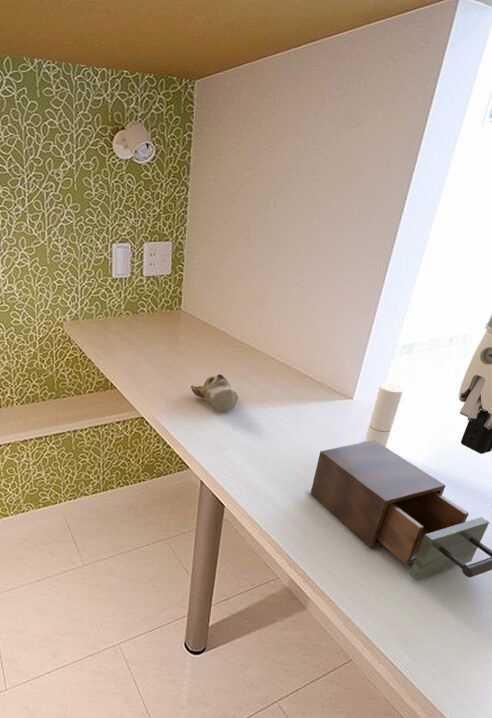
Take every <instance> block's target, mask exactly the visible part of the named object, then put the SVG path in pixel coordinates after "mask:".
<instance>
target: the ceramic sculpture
mask: <svg viewBox="0 0 492 718" xmlns="http://www.w3.org/2000/svg"><path fill="white" fill-rule="evenodd" d="M190 387H191V391H192V393H193V394H194V395H195V396H196V397H198V398H202V399H205V400H206V401H207V402H209V403H210V404H211V407H212V408H213V410H214V411H216V412H222V413H225V412H226V413H227V412H228V411H231V410H233V409H234V408H235V407H236V405H237V404H238V399H239V395H238V393H237V391H236V390H235V389H233V388H232V385H231V384H230V382H229V381H228V379H227V377H225V376H223V374H217V375H212V376H209V377H208V378H206V379H205V381H204V383H203V385H198V386H196V385H195V386H194V385H190Z"/></svg>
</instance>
